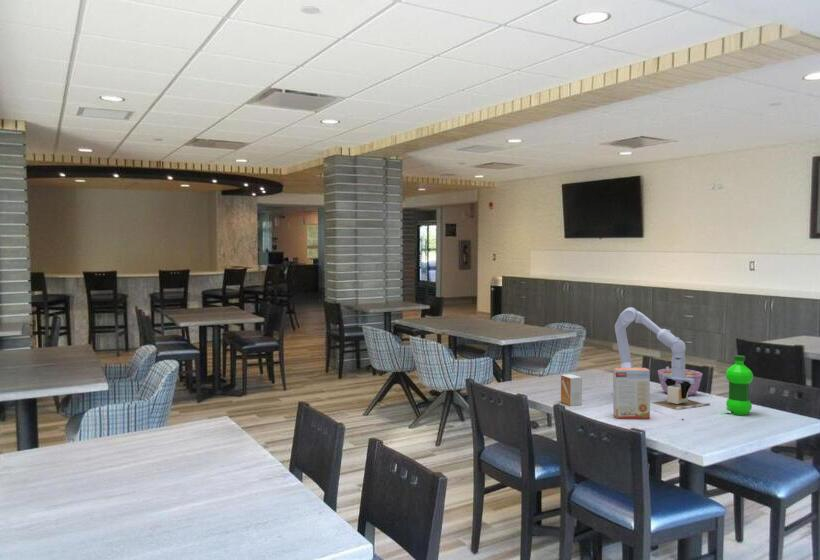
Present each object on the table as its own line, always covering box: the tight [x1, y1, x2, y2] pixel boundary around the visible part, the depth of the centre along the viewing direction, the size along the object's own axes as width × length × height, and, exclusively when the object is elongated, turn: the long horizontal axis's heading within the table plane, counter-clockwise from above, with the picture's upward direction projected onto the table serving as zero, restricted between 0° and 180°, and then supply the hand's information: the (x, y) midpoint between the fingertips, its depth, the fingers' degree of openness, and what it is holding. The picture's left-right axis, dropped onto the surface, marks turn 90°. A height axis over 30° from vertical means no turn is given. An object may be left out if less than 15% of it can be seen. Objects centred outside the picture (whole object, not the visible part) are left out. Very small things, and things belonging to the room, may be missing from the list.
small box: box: [560, 373, 583, 407], centre depth 287 cm, size 8×6×13 cm
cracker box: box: [612, 367, 651, 420], centre depth 263 cm, size 14×6×21 cm, turn 84°
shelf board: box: [652, 399, 711, 411], centre depth 279 cm, size 20×15×2 cm
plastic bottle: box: [725, 354, 754, 416], centre depth 267 cm, size 10×10×25 cm
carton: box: [666, 384, 689, 404], centre depth 280 cm, size 8×5×7 cm, turn 125°
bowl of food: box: [657, 368, 703, 397], centre depth 301 cm, size 20×20×12 cm
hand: (677, 397), depth 280 cm, fingers closed on carton, 5 cm apart
